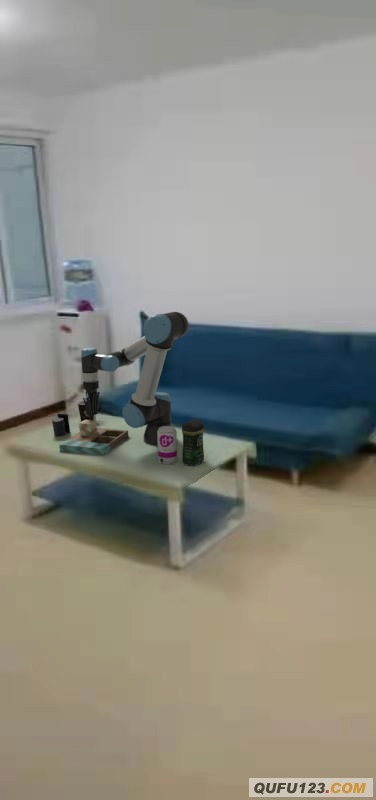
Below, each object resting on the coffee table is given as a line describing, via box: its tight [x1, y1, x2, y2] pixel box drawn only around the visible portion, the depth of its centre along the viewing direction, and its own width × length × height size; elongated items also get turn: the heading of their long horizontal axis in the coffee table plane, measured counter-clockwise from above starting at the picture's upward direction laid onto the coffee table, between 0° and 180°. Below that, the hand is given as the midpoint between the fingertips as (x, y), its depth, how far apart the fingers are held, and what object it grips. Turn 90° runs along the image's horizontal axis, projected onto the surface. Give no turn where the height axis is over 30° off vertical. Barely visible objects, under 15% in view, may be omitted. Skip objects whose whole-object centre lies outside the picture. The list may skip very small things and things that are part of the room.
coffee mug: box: [77, 400, 102, 422], centre depth 330 cm, size 12×9×10 cm
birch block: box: [78, 420, 98, 436], centre depth 299 cm, size 6×6×6 cm
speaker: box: [51, 412, 71, 437], centre depth 309 cm, size 8×6×10 cm
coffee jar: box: [181, 418, 205, 466], centre depth 266 cm, size 10×8×19 cm
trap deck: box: [58, 427, 129, 456], centre depth 295 cm, size 22×28×3 cm
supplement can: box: [157, 425, 178, 465], centre depth 268 cm, size 8×8×15 cm
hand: (93, 427), depth 304 cm, fingers closed
